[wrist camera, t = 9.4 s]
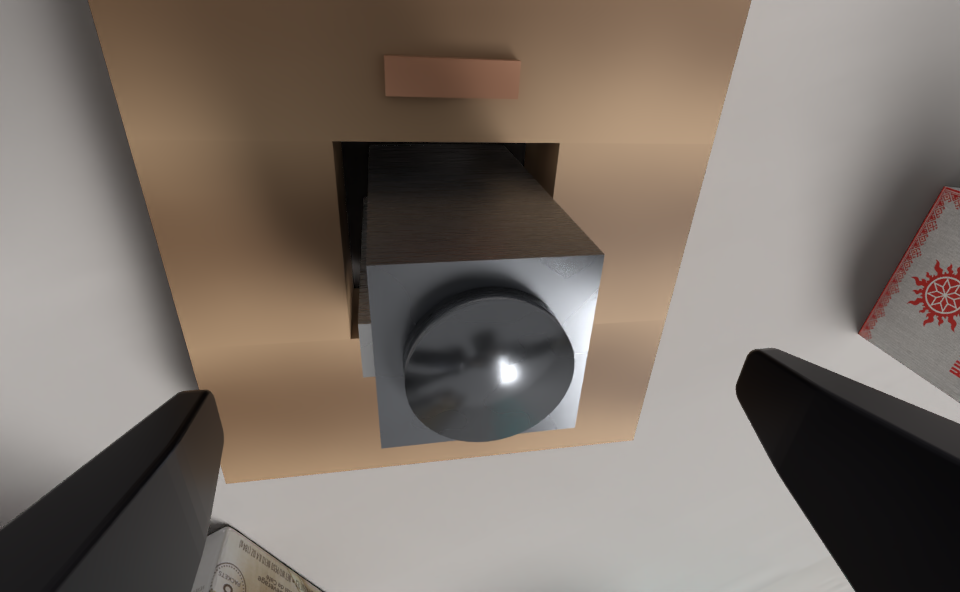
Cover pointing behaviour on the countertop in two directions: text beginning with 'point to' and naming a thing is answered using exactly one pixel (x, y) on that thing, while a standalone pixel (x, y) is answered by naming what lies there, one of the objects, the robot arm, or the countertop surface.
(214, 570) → the coffee box
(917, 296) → the white upright block
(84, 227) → the countertop surface
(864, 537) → the robot arm
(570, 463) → the countertop surface
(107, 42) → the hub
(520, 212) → the peg
